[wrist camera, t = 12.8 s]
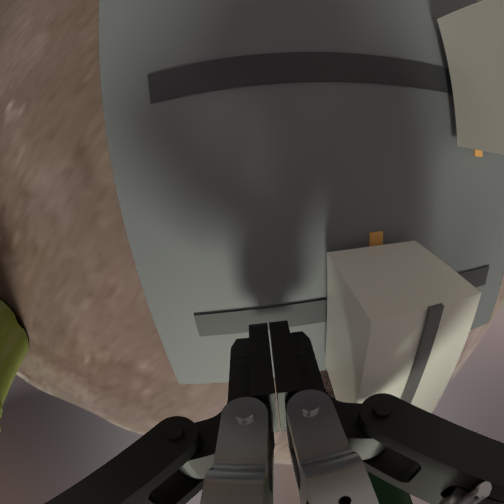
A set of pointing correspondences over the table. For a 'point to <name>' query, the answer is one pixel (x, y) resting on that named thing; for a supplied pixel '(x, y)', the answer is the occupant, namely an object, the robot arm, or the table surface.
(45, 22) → the table surface
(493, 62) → the block
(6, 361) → the plant pot
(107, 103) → the fader board
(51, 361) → the table surface
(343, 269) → the block
